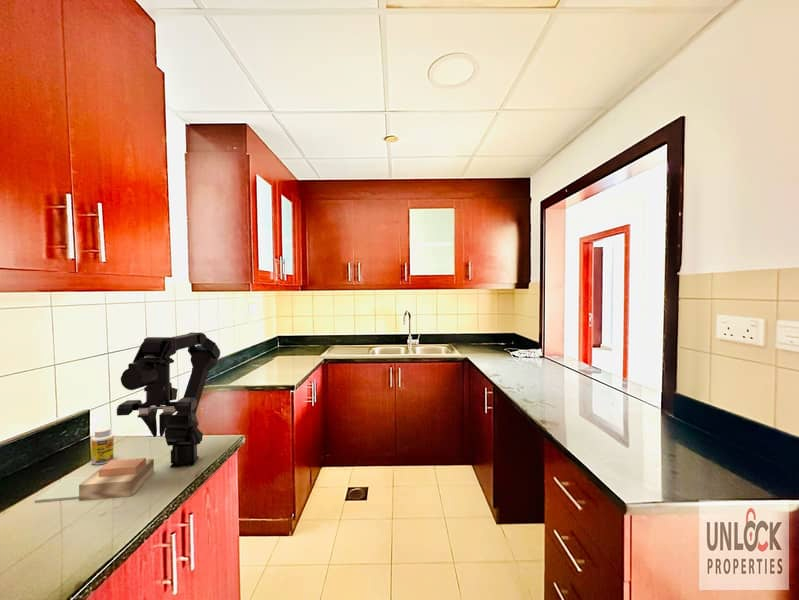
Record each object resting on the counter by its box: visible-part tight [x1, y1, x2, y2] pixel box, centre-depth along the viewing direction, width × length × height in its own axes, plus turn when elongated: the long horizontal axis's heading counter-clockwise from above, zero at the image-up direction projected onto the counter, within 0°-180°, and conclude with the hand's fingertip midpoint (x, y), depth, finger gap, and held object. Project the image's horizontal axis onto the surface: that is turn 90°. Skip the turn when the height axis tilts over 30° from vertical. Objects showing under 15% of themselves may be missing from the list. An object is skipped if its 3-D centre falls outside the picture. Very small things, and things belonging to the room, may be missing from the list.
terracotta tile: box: [98, 457, 147, 477], centre depth 108 cm, size 9×6×2 cm, turn 101°
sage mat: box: [34, 475, 91, 503], centre depth 106 cm, size 10×12×1 cm
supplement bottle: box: [91, 427, 114, 466], centre depth 123 cm, size 6×6×10 cm
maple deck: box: [78, 458, 155, 501], centre depth 108 cm, size 12×14×4 cm
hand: (158, 436), depth 109 cm, fingers closed
